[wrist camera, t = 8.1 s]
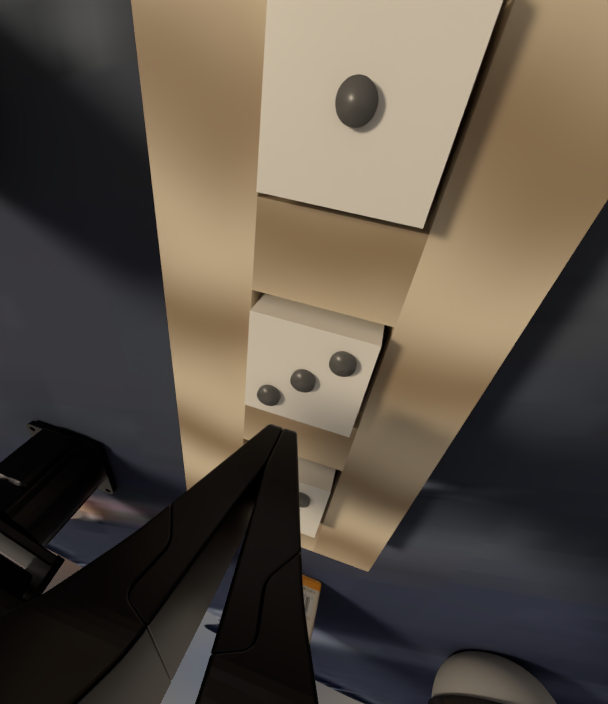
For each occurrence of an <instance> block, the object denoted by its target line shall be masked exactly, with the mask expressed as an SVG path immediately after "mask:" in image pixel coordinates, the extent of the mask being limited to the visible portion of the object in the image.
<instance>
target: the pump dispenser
mask: <svg viewBox="0 0 608 704" xmlns="http://www.w3.org/2000/svg"><path fill="white" fill-rule="evenodd" d="M428 704H556V702H555V701H554V699H553V698H552V696H551V695H550V693H549V692H548V691H547V690H546V688H545V687H544V686H543V685H542V684H541V683H540V682H539V681H538V680H537V679H536V678H535V677H534V676H533V675H532V674H531V673H530V672H528V671H527V670H525V669H524V668H523V667H521V666H520V665H518V664H516V663H515V662H513V661H511V660H509V659H507V658H504V657H501V656H498V655H495V654H491V653H486V652H480V651H464V652H460V653H457V654H454V655H452V656H451V657H449V658H448V659H447V660H445V661H444V662H443V664H442V665H441V667H440V668H439V670H438V672H437V674H436V677H435V680H434V684H433V689H432V698H431V699H430V700H429V701H428Z"/></svg>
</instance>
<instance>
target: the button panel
mask: <svg viewBox="0 0 608 704" xmlns="http://www.w3.org/2000/svg"><path fill="white" fill-rule="evenodd" d="M131 4H132V13H133V22H134V30H135V39H136V48H137V57H138V65H139V74H140V83H141V92H142V100H143V109H144V118H145V127H146V135H147V144H148V153H149V162H150V170H151V179H152V188H153V197H154V205H155V214H156V223H157V232H158V240H159V249H160V258H161V267H162V275H163V284H164V293H165V302H166V310H167V319H168V328H169V337H170V345H171V354H172V363H173V372H174V380H175V389H176V398H177V407H178V415H179V424H180V433H181V442H182V450H183V459H184V468H185V477H186V485H187V490H189V489H190V488H191V487H192V486H193V485H195V484H196V483H197V482H198V481H200V480H201V479H202V478H203V477H204V476H206V475H207V474H208V473H209V472H211V471H212V470H213V469H214V468H216V467H217V466H218V465H219V464H220V463H222V462H223V461H224V460H225V459H227V458H228V457H229V456H230V455H231V454H233V453H234V452H235V451H236V450H238V449H239V448H240V447H241V446H243V445H244V444H245V443H246V442H247V441H249V440H250V439H251V438H252V437H254V436H255V435H256V434H257V433H258V432H260V431H261V430H262V429H263V428H265V427H266V426H267V425H269V424H274V425H277V426H280V427H282V428H283V429H285V428H286V429H289V430H292V431H295V432H297V443H298V457H301V458H304V459H307V460H310V461H313V462H316V463H319V464H322V465H325V466H328V467H331V468H334V469H337V472H336V475H335V478H334V481H333V484H332V488H331V492H330V495H329V498H328V501H327V504H326V507H325V509H324V512H323V515H322V518H321V521H320V523H319V526H318V529H317V532H316V535H315V538H313V537H310V536H307V535H305V534H302V533H301V547H302V548H305V549H308V550H311V551H313V552H316V553H319V554H321V555H324V556H327V557H330V558H332V559H335V560H338V561H340V562H343V563H346V564H349V565H351V566H354V567H357V568H359V569H362V570H365V571H369V570H370V568H371V567H372V565H373V564H374V562H375V560H376V559H377V557H378V556H379V554H380V553H381V551H382V550H383V548H384V546H385V545H386V543H387V542H388V540H389V539H390V537H391V536H392V534H393V532H394V531H395V529H396V528H397V526H398V525H399V523H400V522H401V520H402V518H403V517H404V515H405V514H406V512H407V511H408V509H409V508H410V506H411V504H412V503H413V501H414V500H415V498H416V497H417V495H418V494H419V492H420V490H421V489H422V487H423V486H424V484H425V483H426V481H427V480H428V478H429V476H430V475H431V473H432V472H433V470H434V469H435V467H436V466H437V464H438V462H439V461H440V459H441V458H442V456H443V455H444V453H445V452H446V450H447V448H448V447H449V445H450V444H451V442H452V441H453V439H454V438H455V436H456V434H457V433H458V431H459V430H460V428H461V427H462V425H463V424H464V422H465V420H466V419H467V417H468V416H469V414H470V413H471V411H472V410H473V408H474V407H475V405H476V403H477V402H478V400H479V399H480V397H481V396H482V394H483V393H484V391H485V389H486V388H487V386H488V385H489V383H490V382H491V380H492V379H493V377H494V375H495V374H496V372H497V371H498V369H499V368H500V366H501V365H502V363H503V361H504V360H505V358H506V357H507V355H508V354H509V352H510V351H511V349H512V347H513V346H514V344H515V343H516V341H517V340H518V338H519V337H520V335H521V333H522V332H523V330H524V329H525V327H526V326H527V324H528V323H529V321H530V319H531V318H532V316H533V315H534V313H535V312H536V310H537V309H538V307H539V305H540V304H541V302H542V301H543V299H544V298H545V296H546V295H547V293H548V291H549V290H550V288H551V287H552V285H553V284H554V282H555V281H556V279H557V277H558V276H559V274H560V273H561V271H562V270H563V268H564V267H565V265H566V263H567V262H568V260H569V259H570V257H571V256H572V254H573V253H574V251H575V249H576V248H577V246H578V245H579V243H580V242H581V240H582V239H583V237H584V235H585V234H586V232H587V231H588V229H589V228H590V226H591V225H592V223H593V221H594V220H595V218H596V217H597V215H598V214H599V212H600V211H601V209H602V207H603V206H604V204H605V203H606V201H607V200H608V0H503V2H502V5H501V8H500V11H499V14H498V16H497V19H496V22H495V25H494V28H493V31H492V33H491V36H490V39H489V42H488V45H487V48H486V51H485V53H484V56H483V59H482V62H481V65H480V68H479V70H478V73H477V76H476V79H475V82H474V85H473V87H472V90H471V93H470V96H469V99H468V102H467V105H466V107H465V110H464V113H463V116H462V119H461V122H460V124H459V127H458V130H457V133H456V136H455V139H454V141H453V144H452V147H451V150H450V153H449V156H448V159H447V161H446V164H445V167H444V170H443V173H442V176H441V178H440V181H439V184H438V187H437V190H436V193H435V195H434V198H433V201H432V204H431V207H430V210H429V213H428V215H427V218H426V221H425V224H424V227H423V229H422V228H417V227H413V226H408V225H404V224H399V223H395V222H390V221H386V220H381V219H377V218H372V217H368V216H363V215H359V214H354V213H350V212H345V211H341V210H336V209H331V208H327V207H322V206H318V205H313V204H309V203H304V202H300V201H295V200H291V199H286V198H282V197H277V196H273V195H268V194H264V193H259V192H256V189H257V171H258V153H259V135H260V117H261V99H262V82H263V64H264V46H265V28H266V10H267V0H131ZM265 293H266V294H270V295H274V296H277V297H281V298H285V299H289V300H292V301H296V302H300V303H304V304H308V305H311V306H315V307H319V308H323V309H327V310H330V311H334V312H338V313H342V314H345V315H349V316H353V317H357V318H361V319H364V320H368V321H372V322H376V323H379V324H383V325H387V329H386V332H385V335H384V338H383V340H382V346H381V349H380V352H379V355H378V357H377V360H376V363H375V366H374V369H373V372H372V374H371V377H370V380H369V383H368V386H367V389H366V392H365V394H364V397H363V400H362V403H361V406H360V409H359V411H358V414H357V417H356V420H355V423H354V426H353V428H352V431H351V434H350V437H346V436H343V435H340V434H337V433H333V432H330V431H327V430H324V429H321V428H317V427H314V426H311V425H308V424H305V423H302V422H298V421H295V420H292V419H289V418H286V417H283V416H279V415H276V414H273V413H270V412H267V411H264V410H260V409H257V408H254V407H251V406H248V405H245V386H246V369H247V351H248V333H249V315H250V310H251V308H252V307H253V306H254V305H255V304H256V303H257V302H258V301H259V300H260V299H261V297H262V296H263V295H264V294H265Z"/></svg>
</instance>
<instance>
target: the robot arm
mask: <svg viewBox="0 0 608 704" xmlns="http://www.w3.org/2000/svg"><path fill="white" fill-rule="evenodd" d="M27 428H28V430H29V432H30V434H31V435H32V438H30V439H29V440H28V441H27V442H25V443H24V444H23V445H22V446H20V447H19V448H18V449H17V450H15V451H14V452H13V453H12V454H10V455H9V456H8V457H7V458H5V459H4V460H3V461H2V462H0V551H2V552H3V553H5V554H7V555H8V556H9V557H11V558H12V559H14V560H15V561H17V562H19V563H20V564H22V565H24V566H25V567H26V569H23V568H22V567H20V566H19V565H17V564H16V563H14V562H13V561H11V560H9V559H8V558H6V557H5V556H3V555H2V554H0V704H160V703H161V701H162V699H163V697H164V695H165V693H166V691H167V689H168V687H169V685H170V683H171V680H172V679H173V677H174V675H175V673H176V671H177V669H178V667H179V665H180V663H181V661H182V659H183V657H184V655H185V653H186V651H187V649H188V647H189V645H190V643H191V641H192V639H193V637H194V635H195V633H196V631H197V629H198V627H199V625H200V623H201V620H202V619H203V617H204V615H205V613H206V611H207V609H208V607H209V605H210V603H211V601H212V599H213V597H214V595H215V593H216V591H217V589H218V587H219V585H220V583H221V581H222V579H223V577H224V575H225V573H226V571H227V569H228V567H229V565H230V563H231V561H232V559H233V557H234V555H235V553H236V551H237V549H238V547H239V545H240V543H241V541H242V539H243V537H244V535H245V537H244V541H243V544H242V548H241V551H240V555H239V558H238V562H237V565H236V568H235V572H234V575H233V579H232V582H231V586H230V589H229V593H228V596H227V599H226V603H225V606H224V610H223V613H222V617H221V620H220V624H219V627H218V630H217V634H216V637H215V641H214V644H213V648H212V651H211V654H212V655H211V656H210V658H209V662H208V665H207V668H206V671H205V675H204V678H203V681H202V684H201V688H200V690H199V694H198V697H197V700H196V702H195V704H318V697H317V691H316V684H315V677H314V670H313V663H312V656H311V650H310V643H309V636H308V629H307V621H306V613H305V605H304V596H303V580H302V557H301V554H300V553H301V531H300V502H299V472H298V443H297V432H295V431H292V430H289V429H286V428H285V429H283V428H282V427H280V426H277V425H274V424H269V425H267V426H266V427H265V428H263V429H262V430H261V431H260V432H258V433H257V434H256V435H255V436H254V437H252V438H251V439H250V440H249V441H247V442H246V443H245V444H244V445H243V446H241V447H240V448H239V449H238V450H236V451H235V452H234V453H233V454H231V455H230V456H229V457H228V458H227V459H225V460H224V461H223V462H222V463H220V464H219V465H218V466H217V467H216V468H214V469H213V470H212V471H211V472H209V473H208V474H207V475H206V476H204V477H203V478H202V479H201V480H200V481H198V482H197V483H196V484H195V485H193V486H192V487H191V488H190V489H189V490H187V491H186V492H185V493H184V494H182V495H181V496H180V497H179V498H177V499H176V500H175V501H174V502H173V503H172V504H171V506H170V505H169V506H167V507H166V508H165V509H164V510H163V511H161V512H160V513H159V514H158V515H156V516H155V517H154V518H153V519H151V520H150V521H149V522H147V523H146V524H145V525H144V526H142V527H141V528H140V529H138V530H137V531H136V532H134V533H133V534H132V535H130V536H129V537H127V538H126V539H124V540H123V541H122V542H120V543H119V544H117V545H116V546H114V547H113V548H111V549H110V550H108V551H107V552H106V553H104V554H103V555H101V556H100V557H98V558H97V559H95V560H94V561H92V562H91V563H89V564H88V565H86V566H85V567H83V568H82V569H80V570H79V571H77V572H76V573H74V574H73V575H72V576H70V577H68V578H67V579H65V580H64V581H62V582H61V583H59V584H58V585H56V586H55V587H53V588H52V589H50V590H49V591H47V592H46V593H44V594H42V593H43V592H44V590H45V589H46V587H47V586H48V584H49V583H50V581H51V580H52V578H53V577H54V575H55V574H56V573H57V571H58V569H59V568H60V567H61V565H62V564H63V562H64V561H65V560H64V559H63V558H62V557H60V556H59V555H58V556H56V555H55V554H53V553H51V552H50V551H49V550H47V549H46V548H45V547H46V546H47V545H48V543H49V542H50V541H51V540H52V539H53V538H54V537H55V535H56V534H57V533H58V532H59V531H60V530H61V529H62V528H63V526H64V525H65V524H66V523H67V522H68V521H69V520H70V519H71V517H72V516H73V515H74V514H75V513H76V512H77V511H78V509H79V508H80V507H81V506H82V505H83V504H84V503H85V502H86V500H87V499H88V498H89V497H90V496H91V495H92V494H93V492H94V491H95V490H96V489H98V490H101V491H103V492H106V493H109V494H113V493H114V492H115V491H116V490H117V488H116V485H115V483H114V480H113V477H112V474H111V471H110V468H109V465H108V462H107V459H106V456H105V453H104V450H103V448H102V447H101V445H99V444H98V443H95V442H93V441H90V440H87V439H84V438H81V437H79V436H76V435H73V434H70V433H67V432H64V431H62V430H59V429H56V428H53V427H50V426H48V425H45V424H42V423H39V422H36V421H31V422H30V423H28V424H27ZM245 533H246V534H245Z"/></svg>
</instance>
